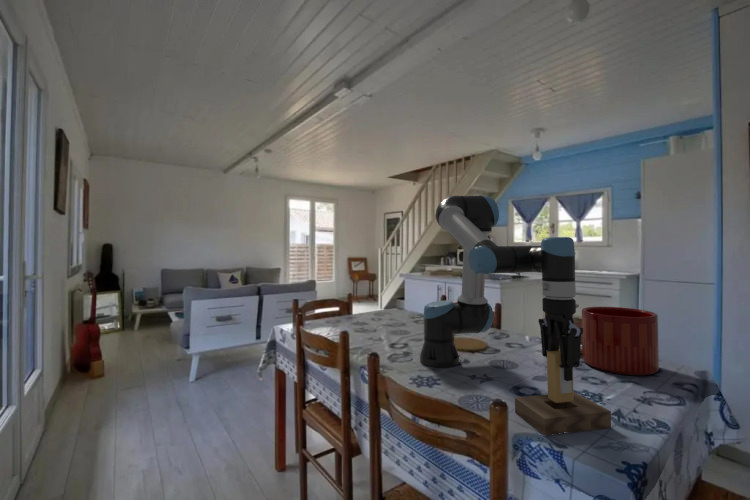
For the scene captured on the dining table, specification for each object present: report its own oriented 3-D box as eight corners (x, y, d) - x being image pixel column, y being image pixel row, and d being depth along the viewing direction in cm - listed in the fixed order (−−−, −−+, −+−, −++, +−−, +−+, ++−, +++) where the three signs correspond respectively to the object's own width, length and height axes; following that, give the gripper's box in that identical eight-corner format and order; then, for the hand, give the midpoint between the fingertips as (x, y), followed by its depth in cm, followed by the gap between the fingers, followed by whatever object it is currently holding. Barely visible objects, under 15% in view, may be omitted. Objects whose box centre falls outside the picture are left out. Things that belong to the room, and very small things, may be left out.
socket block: (544, 436, 81) (544, 418, 81) (515, 412, 93) (514, 397, 93) (611, 427, 84) (610, 411, 84) (574, 406, 96) (573, 391, 96)
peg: (547, 398, 89) (546, 351, 89) (565, 396, 90) (564, 350, 90) (555, 402, 86) (554, 354, 86) (573, 401, 87) (572, 353, 87)
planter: (587, 353, 144) (586, 304, 144) (659, 364, 129) (658, 310, 129) (577, 368, 126) (576, 312, 126) (659, 382, 112) (657, 320, 112)
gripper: (526, 294, 96) (527, 379, 96) (568, 302, 80) (570, 404, 80) (550, 293, 97) (552, 377, 97) (596, 301, 81) (599, 401, 81)
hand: (560, 389), depth 88 cm, fingers closed on peg, 3 cm apart
